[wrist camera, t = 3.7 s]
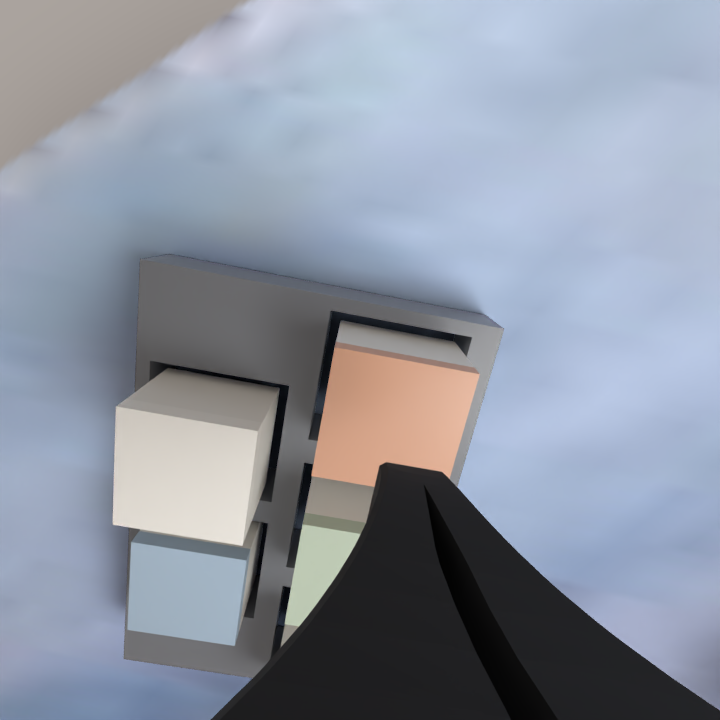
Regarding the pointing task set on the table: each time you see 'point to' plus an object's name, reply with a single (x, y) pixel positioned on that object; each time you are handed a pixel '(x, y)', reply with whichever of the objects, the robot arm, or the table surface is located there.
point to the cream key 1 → (193, 455)
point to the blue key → (191, 585)
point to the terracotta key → (392, 404)
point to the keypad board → (301, 424)
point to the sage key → (325, 540)
